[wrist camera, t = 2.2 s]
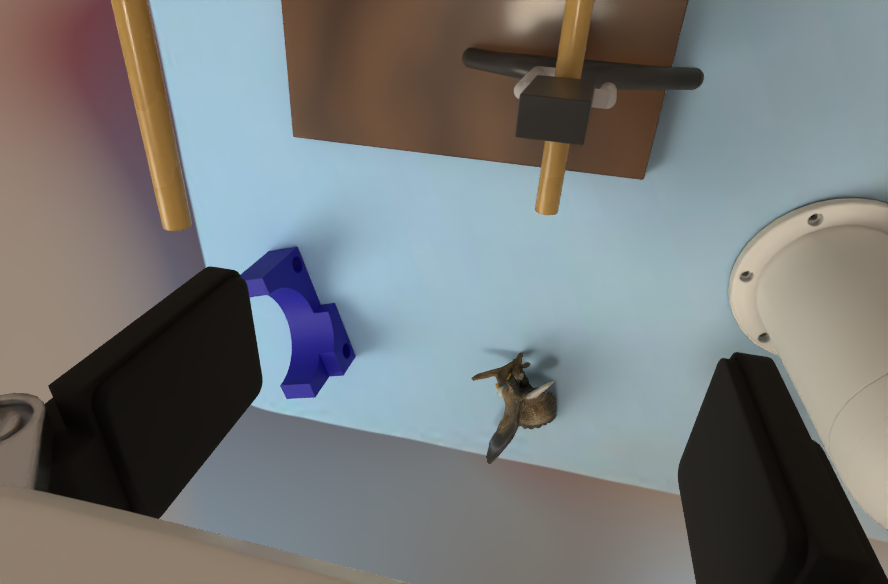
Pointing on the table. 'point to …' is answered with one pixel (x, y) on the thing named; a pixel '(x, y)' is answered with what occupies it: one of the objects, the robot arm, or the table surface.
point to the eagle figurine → (518, 404)
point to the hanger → (572, 89)
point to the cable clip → (302, 322)
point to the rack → (432, 82)
